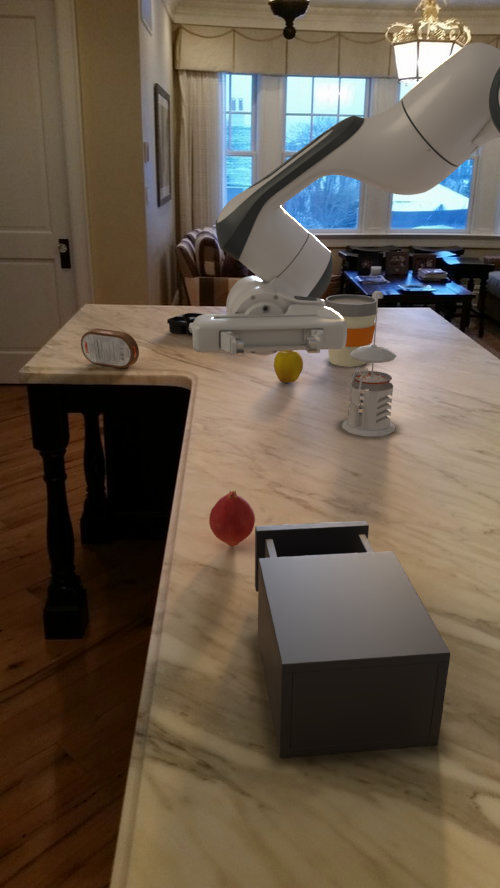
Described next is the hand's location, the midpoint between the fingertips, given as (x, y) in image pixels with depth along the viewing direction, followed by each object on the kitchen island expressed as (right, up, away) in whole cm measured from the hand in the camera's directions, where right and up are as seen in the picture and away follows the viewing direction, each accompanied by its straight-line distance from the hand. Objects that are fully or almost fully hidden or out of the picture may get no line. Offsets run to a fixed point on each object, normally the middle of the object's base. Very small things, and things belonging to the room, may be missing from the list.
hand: (276, 347), depth 86 cm
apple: (+5, +2, +70) cm, 70 cm away
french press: (+18, -9, +44) cm, 48 cm away
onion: (-6, -25, +5) cm, 26 cm away
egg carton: (-11, +19, +110) cm, 112 cm away
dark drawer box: (+5, -35, -19) cm, 40 cm away
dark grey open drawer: (+4, -30, -10) cm, 32 cm away
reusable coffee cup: (+21, +8, +85) cm, 88 cm away
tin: (-36, +7, +81) cm, 89 cm away
